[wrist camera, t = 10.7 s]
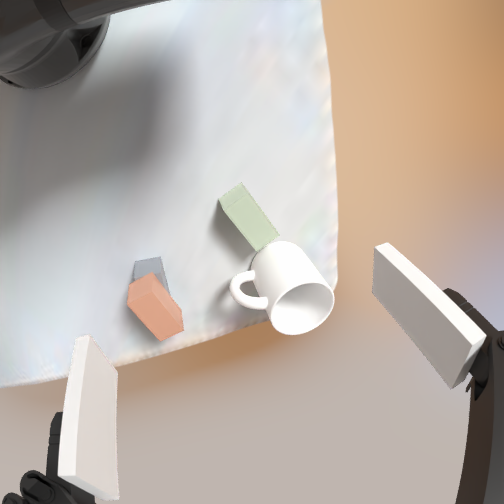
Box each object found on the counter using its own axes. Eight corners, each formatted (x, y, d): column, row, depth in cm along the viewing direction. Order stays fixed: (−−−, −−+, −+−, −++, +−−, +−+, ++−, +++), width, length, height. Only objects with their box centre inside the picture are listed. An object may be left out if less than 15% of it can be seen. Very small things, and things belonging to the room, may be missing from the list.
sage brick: (218, 198, 39) (223, 210, 36) (241, 181, 39) (249, 192, 35) (248, 237, 43) (256, 251, 40) (270, 221, 43) (279, 235, 39)
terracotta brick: (129, 284, 37) (126, 304, 34) (152, 271, 37) (152, 291, 34) (159, 320, 41) (160, 341, 38) (181, 309, 41) (183, 330, 38)
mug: (221, 292, 46) (236, 342, 37) (224, 241, 42) (241, 286, 33) (298, 286, 49) (326, 330, 41) (307, 238, 45) (341, 278, 37)
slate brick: (135, 260, 40) (133, 277, 37) (160, 256, 41) (160, 272, 38) (147, 302, 44) (147, 320, 41) (171, 297, 45) (172, 315, 41)
